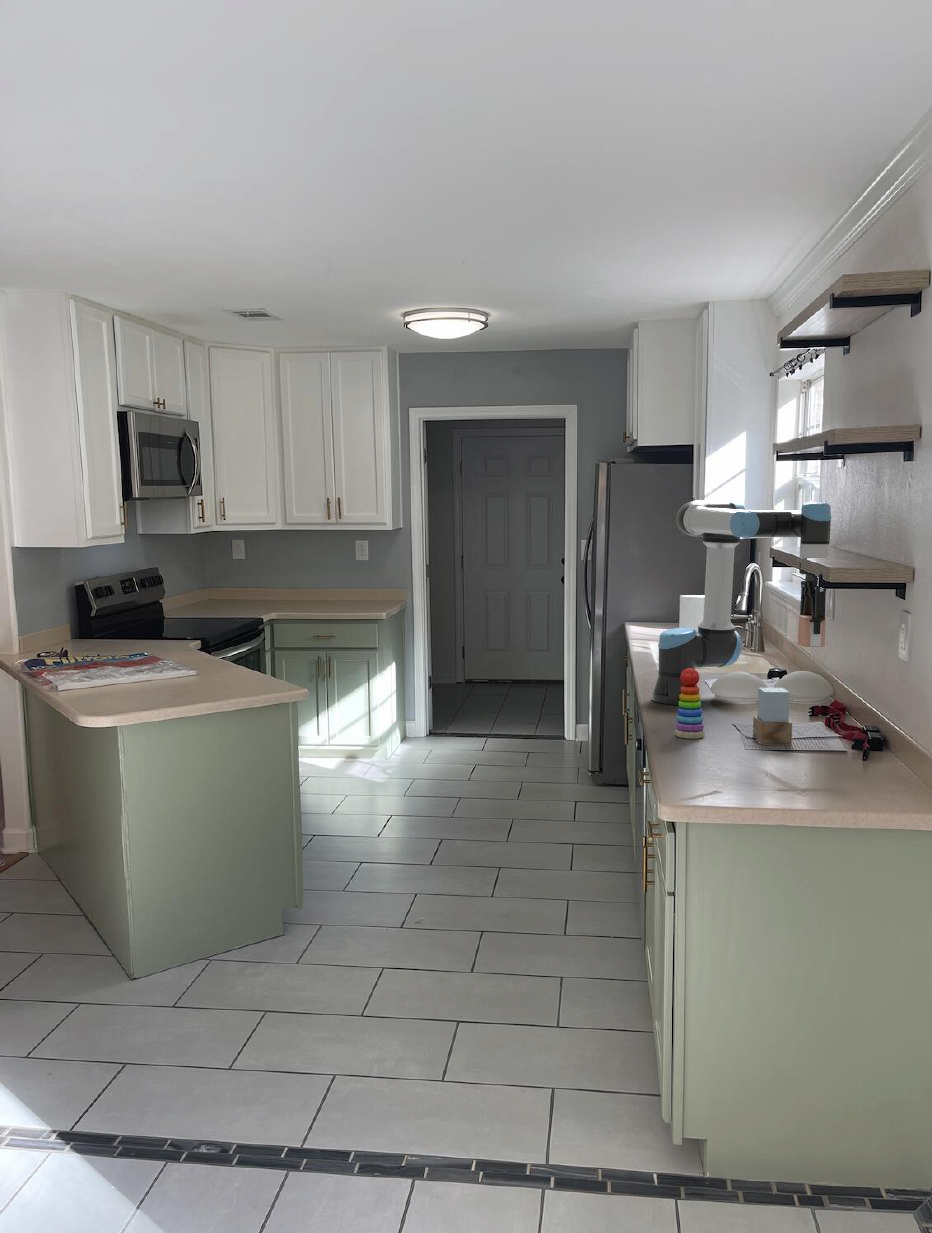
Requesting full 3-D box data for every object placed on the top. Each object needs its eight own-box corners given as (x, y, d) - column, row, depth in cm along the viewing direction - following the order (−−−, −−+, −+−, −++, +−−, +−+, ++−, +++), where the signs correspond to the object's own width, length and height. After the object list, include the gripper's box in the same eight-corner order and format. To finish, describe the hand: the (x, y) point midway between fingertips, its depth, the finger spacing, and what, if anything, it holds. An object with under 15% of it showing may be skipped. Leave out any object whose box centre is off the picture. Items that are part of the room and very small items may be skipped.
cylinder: (728, 667, 380) (730, 597, 377) (685, 668, 379) (686, 597, 376) (713, 661, 397) (715, 593, 394) (672, 661, 396) (673, 593, 393)
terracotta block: (804, 646, 263) (805, 617, 262) (797, 644, 269) (798, 615, 268) (824, 646, 263) (825, 617, 262) (817, 644, 268) (818, 615, 268)
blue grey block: (763, 721, 255) (764, 691, 255) (757, 716, 262) (758, 687, 261) (788, 722, 255) (789, 692, 254) (781, 716, 262) (782, 687, 261)
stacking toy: (707, 734, 266) (709, 667, 264) (701, 740, 259) (703, 671, 257) (678, 731, 270) (680, 665, 268) (672, 737, 262) (673, 669, 260)
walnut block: (760, 745, 255) (761, 722, 254) (752, 738, 263) (753, 716, 262) (791, 745, 255) (792, 722, 254) (782, 738, 263) (783, 716, 262)
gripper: (840, 561, 254) (837, 649, 256) (816, 558, 272) (813, 639, 275) (812, 561, 254) (808, 649, 257) (789, 558, 273) (786, 639, 275)
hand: (811, 644), depth 266 cm, fingers closed on terracotta block, 5 cm apart
